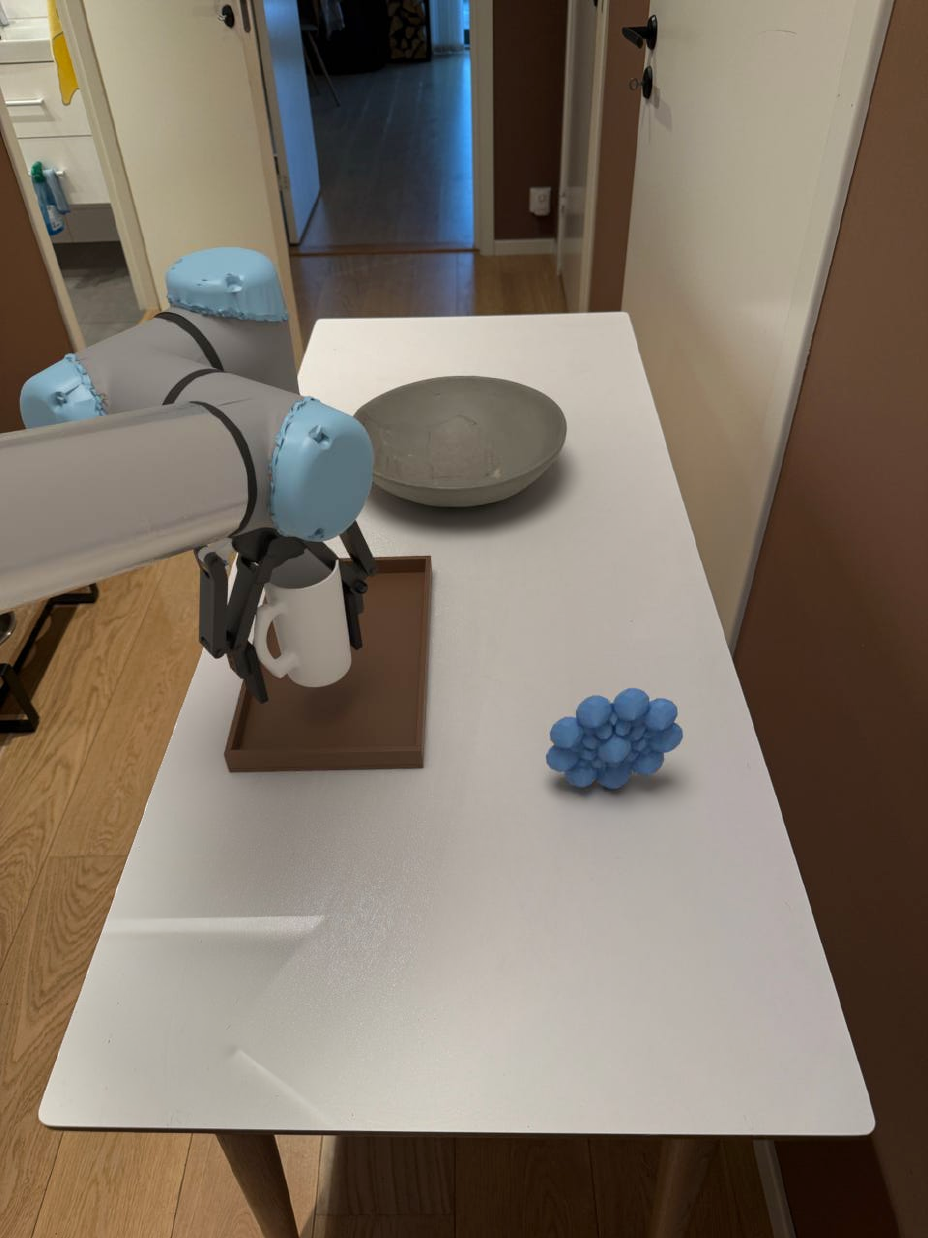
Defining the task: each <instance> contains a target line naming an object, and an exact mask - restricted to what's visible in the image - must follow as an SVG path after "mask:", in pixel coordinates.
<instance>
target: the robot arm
mask: <svg viewBox="0 0 928 1238" xmlns="http://www.w3.org/2000/svg"><path fill="white" fill-rule="evenodd" d="M281 283H282V282H281V280H280V276H279V272H278V270H277V268H276V265H275V263H274V262H273V261H272V260H271V258H269V257H268V256H267V255H265V254H263V253H262V252H259V251H257V250H253V249H249V248H245V247H238V246H222V247H221V246H219V247H211V248H205V249H201V250H197V251H194V252H191V253H188V254H185V255H183V256H180V257H178V258H177V259H176V261H174V263H173V264H172V265H170V266H169V268H168V269H167V271H166V273H165V286H166V291H167V293H166V295H165V297H166V298H167V301H168V304H169V307H167V308H166V309H164V310H161V311H160V312H158V313H156V314H155V315H154V316H153V317H151V318H150V319H148V320H145V321H143V322H141V323H139V324H136V325H134V326H131V327H130V328H127V329H125V330H123V331H120V332H118V333H116V334H114V335H111V336H110V337H107V338H104V339H103V340H100V341H99V342H96V343H94V344H92V345H90V346H88V347H85V348H83V349H81V350H79V351H76V352H75V353H66V354H65V355H64V357H63V358H62V359H61V360H59V361H57V362H56V363H54V364H52V365H50V366H49V367H47V368H45V369H43V370H41V371H40V372H38V373H36V374H35V375H33V376H31V377H30V378H29V379H27V380H26V381H25V383H24V384H23V386H22V388H21V391H20V396H19V409H20V411H19V412H20V414H21V418H22V422H23V424H24V426H25V429H19V430H14V431H8V432H2V433H0V616H2V615H4V614H7V613H10V612H13V611H16V610H19V609H22V608H24V607H28V606H30V605H33V604H34V605H35V604H36V603H39V602H43V601H45V600H48V599H51V598H54V597H57V596H61V595H63V594H66V593H68V592H69V593H70V592H72V591H75V590H78V589H81V588H84V587H86V586H89V585H92V584H96V583H98V582H101V581H104V580H105V581H106V580H107V579H110V578H113V577H117V576H120V575H122V574H126V573H128V572H131V571H134V570H137V569H140V568H143V567H145V566H148V565H152V564H155V563H158V562H160V561H164V560H167V559H168V558H172V557H175V556H179V555H182V554H184V553H187V552H190V551H192V552H193V555H194V558H195V560H196V563H197V565H198V567H199V602H198V603H199V606H198V608H199V610H198V643H199V644H200V645H201V646H202V647H203V648H204V649H205V650H206V651H207V652H208V653H209V655H211V657H213V658H214V659H215V660H219V659H221V658H223V657H224V656H225V655H226V658H227V662H228V665H229V668H230V670H231V671H232V672H233V673H234V674H235V675H236V676H237V677H238V678H239V679H241V680H243V678H244V682H245V685H246V689H247V690H248V691H249V692H250V693H251V694H252V695H253V696H254V697H255V698H256V699H257V700H258V701H259V702H260V703H261V704H264V703H265V702H267V701H269V699H268V695H267V691H266V687H265V683H264V679H263V675H262V671H261V667H260V664H259V660H258V656H257V652H256V648H255V647H254V646H253V645H252V642H250V641H249V639H250V634H251V631H252V628H253V624H254V623H255V618H256V611H257V608H258V607H259V606H260V605H259V604H260V601H261V598H262V594H263V591H264V585H265V583H268V582H269V580H270V577H271V574H272V571H273V569H274V568H276V567H278V566H280V565H282V564H283V563H284V562H286V561H287V560H288V559H292V558H296V557H298V556H300V555H303V554H304V550H305V549H306V548H307V549H308V550H309V551H310V552H311V553H312V554H313V555H314V556H315V557H316V558H317V559H319V560H320V561H321V562H322V563H323V564H324V565H325V566H326V567H327V568H328V569H330V570H331V571H332V572H333V570H334V568H335V565H336V560H338V564H339V570H340V575H341V582H342V589H343V597H344V605H345V612H346V620H347V627H348V634H349V643H350V645H351V646H352V647H353V648H354V649H355V650H356V651H357V650H358V649H360V648H362V647H363V644H362V638H361V631H360V625H359V618H358V615H359V614H361V613H363V610H364V603H363V596H362V595H363V594H365V593H366V592H367V590H368V584H367V583H365V582H364V580H365V579H366V578H367V577H368V576H369V577H373V576H375V575H376V574H377V573H378V570H379V568H378V566H377V563H376V561H375V559H374V557H375V556H374V555H373V553H372V551H371V549H370V546H369V545H368V542H367V540H366V538H365V536H364V534H363V531H362V530H361V528H360V525H359V523H358V521H357V519H358V517H359V515H360V514H361V512H362V511H363V509H364V507H365V505H366V503H367V500H368V498H369V495H370V493H371V489H372V486H373V483H374V482H373V478H372V470H373V465H374V451H373V446H372V443H371V440H370V437H369V435H368V433H367V431H366V429H365V428H364V427H363V425H362V424H361V423H360V422H359V421H358V420H357V419H355V418H354V417H353V415H350V414H348V413H346V412H344V411H342V410H340V409H337V408H335V407H333V406H331V405H328V404H325V403H323V402H322V401H321V400H320V399H318V398H315V397H314V396H311V395H306V396H305V395H301V391H300V387H299V380H298V373H297V367H296V359H295V353H294V347H293V340H292V333H291V327H290V313H289V311H288V308H287V304H286V299H285V296H284V292H283V288H282V284H281ZM338 536H339V538H340V541H341V543H342V544H343V547H344V548H345V550H346V552H347V555H348V556H349V558H351V560H352V562H353V563H352V564H351V565H350V566H349V567H348V566H347V565H346V564H345V563H344V562H343V561H342V560H341V559H340V558H341V557H339V556H338V555H337V553H336V552H335V553H336V554H335V553H333V552H332V551H331V550H330V549H329V548H330V547H329V546H328V545H327V544H326V543H325V542H326V541H330V540H333V539H335V538H337V537H338ZM328 547H329V548H328ZM235 552H236V553H237V557H236V560H235V567H236V574H235V577H234V580H233V585H232V588H231V592H230V595H229V576H228V573H227V572H228V571H230V570H231V568H232V566H231V564H230V563H231V556H232V555H233V553H235Z"/></svg>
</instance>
